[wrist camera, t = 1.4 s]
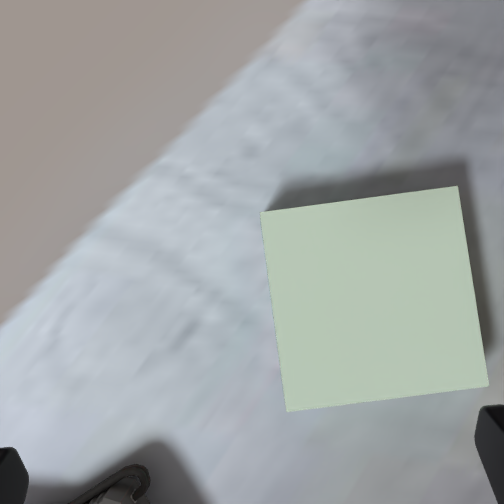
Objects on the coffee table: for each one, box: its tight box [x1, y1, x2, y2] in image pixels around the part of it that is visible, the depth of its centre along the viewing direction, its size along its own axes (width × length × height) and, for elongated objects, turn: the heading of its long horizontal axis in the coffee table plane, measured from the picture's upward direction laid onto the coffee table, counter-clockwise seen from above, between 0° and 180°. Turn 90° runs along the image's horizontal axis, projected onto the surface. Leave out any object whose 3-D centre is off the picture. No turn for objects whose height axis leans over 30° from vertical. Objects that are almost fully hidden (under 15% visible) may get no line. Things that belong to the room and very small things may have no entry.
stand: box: [260, 186, 489, 412], centre depth 23 cm, size 10×10×2 cm
